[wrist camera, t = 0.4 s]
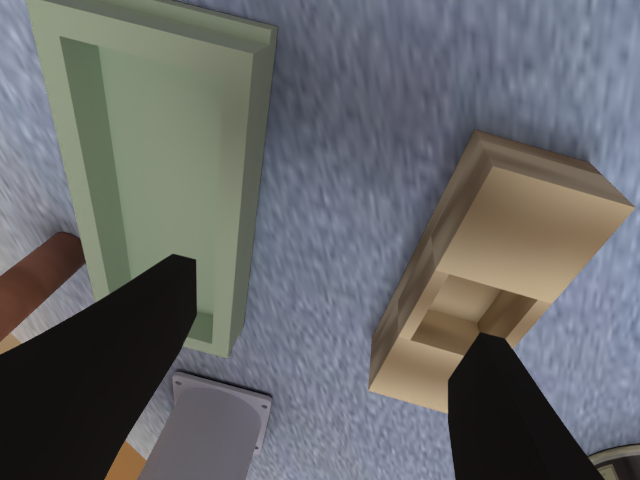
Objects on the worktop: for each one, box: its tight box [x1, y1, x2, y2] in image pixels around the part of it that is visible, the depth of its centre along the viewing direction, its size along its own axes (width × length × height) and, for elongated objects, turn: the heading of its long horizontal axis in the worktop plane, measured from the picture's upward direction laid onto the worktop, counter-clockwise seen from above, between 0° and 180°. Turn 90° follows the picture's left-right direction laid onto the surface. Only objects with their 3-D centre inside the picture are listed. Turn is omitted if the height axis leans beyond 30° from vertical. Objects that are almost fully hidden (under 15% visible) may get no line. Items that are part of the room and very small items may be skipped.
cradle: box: [26, 0, 278, 359], centre depth 19 cm, size 18×8×3 cm, turn 169°
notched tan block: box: [368, 130, 636, 414], centre depth 18 cm, size 14×5×4 cm, turn 167°
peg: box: [0, 232, 86, 342], centre depth 21 cm, size 2×2×7 cm
